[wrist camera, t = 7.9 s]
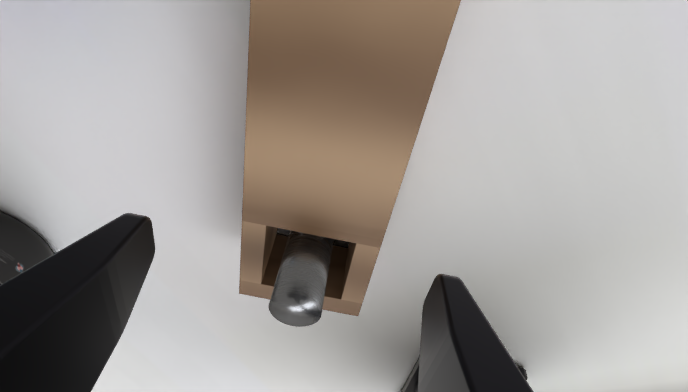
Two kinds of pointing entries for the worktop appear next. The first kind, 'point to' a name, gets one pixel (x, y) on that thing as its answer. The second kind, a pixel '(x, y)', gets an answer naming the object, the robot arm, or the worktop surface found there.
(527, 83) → the worktop surface
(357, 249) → the link
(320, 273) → the cylinder
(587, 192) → the worktop surface
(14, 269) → the supplement bottle
